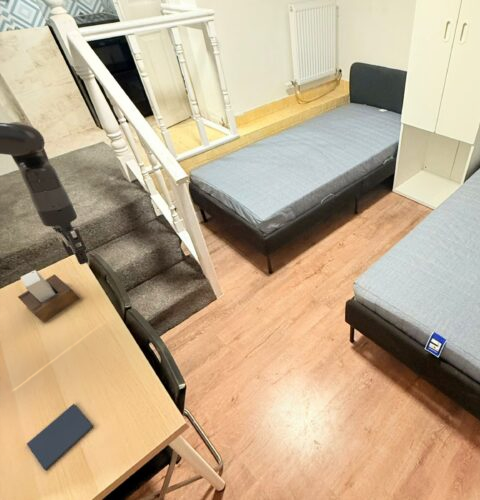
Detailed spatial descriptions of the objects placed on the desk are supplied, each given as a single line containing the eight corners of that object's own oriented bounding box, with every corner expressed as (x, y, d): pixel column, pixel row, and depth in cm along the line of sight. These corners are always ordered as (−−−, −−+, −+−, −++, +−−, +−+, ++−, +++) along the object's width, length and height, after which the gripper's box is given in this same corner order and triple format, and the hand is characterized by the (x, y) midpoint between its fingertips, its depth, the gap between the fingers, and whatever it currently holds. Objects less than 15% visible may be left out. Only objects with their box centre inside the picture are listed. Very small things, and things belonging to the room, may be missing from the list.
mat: (46, 470, 74) (44, 469, 74) (28, 444, 78) (26, 443, 78) (93, 426, 80) (92, 425, 80) (75, 404, 84) (73, 403, 84)
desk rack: (43, 322, 102) (33, 313, 99) (27, 306, 107) (17, 296, 104) (79, 298, 109) (71, 288, 105) (63, 283, 114) (54, 274, 110)
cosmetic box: (44, 301, 108) (19, 276, 100) (58, 293, 111) (35, 269, 102) (49, 311, 105) (24, 287, 97) (64, 303, 107) (41, 279, 99)
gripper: (27, 203, 88) (54, 257, 95) (45, 215, 80) (72, 272, 88) (60, 195, 93) (83, 246, 101) (80, 205, 85) (103, 260, 93)
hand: (78, 258), depth 94 cm, fingers open, 8 cm apart
